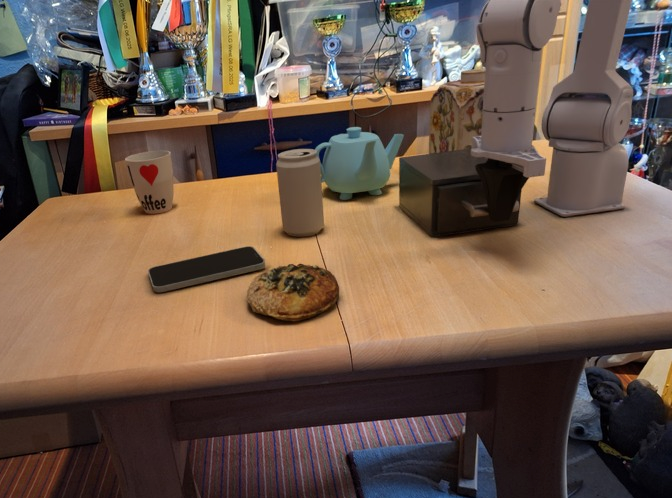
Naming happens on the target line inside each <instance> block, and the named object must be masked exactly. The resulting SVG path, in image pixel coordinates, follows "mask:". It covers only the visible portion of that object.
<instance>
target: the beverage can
mask: <svg viewBox="0 0 672 498" xmlns="http://www.w3.org/2000/svg"><path fill="white" fill-rule="evenodd" d="M316 154H317V151H316V150H315V149H313V148H297V149H290V150H286V151H285V150H284V151H282V152H280V153H278V154H277V161H276V163H275V166H276V167H275V169H276V175H277V187H278V197H279V205H280V214H281V216H280V217H281V224H282V225H281V226H282V230H283V231H284V232H285V233H287V234H288V235H289V236H292V237H299V238H301V237H309V236H314V235H316V234H318V233H320V232H321V230H322V229H323V228H324V226H325V215H324V201H323V199H324V198H323V184H322V183H321V170H320V162H321V160H320V159H321V158H320V157H319V158H318V157H317V155H316Z"/></svg>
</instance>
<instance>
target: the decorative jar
mask: <svg viewBox="0 0 672 498" xmlns="http://www.w3.org/2000/svg"><path fill="white" fill-rule="evenodd" d="M484 83H485V68H476V69H475V68H474V69H464V70H461V72H460V79H458V80H453V81H452V80H451V81H448V82H444V83H443V84H440V85H439V86H438V87H437V89H436V90H435V92H434V93H433V94H432V96H431V97H430V107H429V129H428V130H429V131H428V132H429V133H428V154H431V153H439V152H447V151H454V150H462V149H470V148H472V137H476V136H481V131H482V115H483V99H484Z"/></svg>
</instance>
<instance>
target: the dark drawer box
mask: <svg viewBox="0 0 672 498" xmlns="http://www.w3.org/2000/svg"><path fill="white" fill-rule="evenodd" d="M521 199H522V191H521V192H520V194H519V196H518V198H517V201H516V203H515V206H514V209H513V212H512V214H511V217H510V219H509V220H506V221H499V222H493V221H492V220H490V217H489V213H488V207H487V201H486V196H485V191H484V188H483V185H482V182H481V181H475V182H467V183H460V184H452V185H438V186H437V204H436V231H437V232H438V233H442V232H450V231H457V230H464V229H472V228H479V227H487V226H494V225H501V224H509V223H516V222H518V223H519V220H520V219H519V217H520V208H521Z"/></svg>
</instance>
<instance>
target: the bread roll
mask: <svg viewBox="0 0 672 498" xmlns="http://www.w3.org/2000/svg"><path fill="white" fill-rule="evenodd" d="M247 288H248V289H247V290H246V301H247V303H248V304H249V306H250V307H251V309H252V312H253V313H257V314H259V315H264V316H270V317H272V318H274V319H276V320H281V321H286V322H298V321H299V322H300V321H303V320H309V319H310V318H312V317H315V316H316V315H318V314H321V313H323V312H325V311H328V310H331V308H332V307H333V306H334V305H335V304H336V302H338V300H339V295H340V285H339V283H338V280H337V278H336V277H335V275H334V274H333V273H332V272H331V271H330V270H329V269H325V268H323V267H319V266H318V265H316V264H313V265H311V264H304V263H298V264H297V265H295V264H294V263H289V264H287V265H279V266H277V267H273V268H271V269H270V270H267V271H264V272H262V273H260V274H258V275H256V276H255V277H254V278H253V279H252V280H251V282H250V283H249V285H248V287H247Z"/></svg>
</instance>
